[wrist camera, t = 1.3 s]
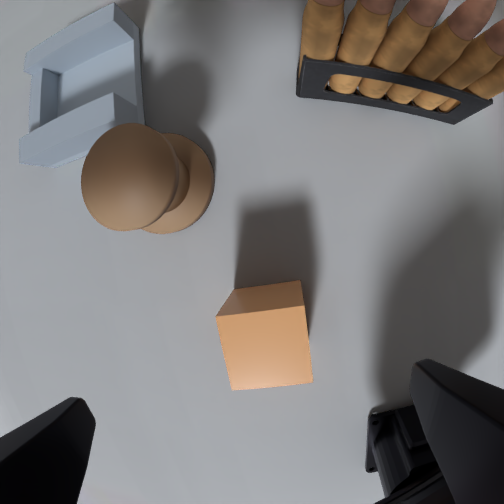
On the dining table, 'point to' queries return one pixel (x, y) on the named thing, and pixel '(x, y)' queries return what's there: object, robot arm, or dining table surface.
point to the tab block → (265, 336)
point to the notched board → (82, 87)
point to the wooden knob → (146, 180)
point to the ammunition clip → (403, 57)
